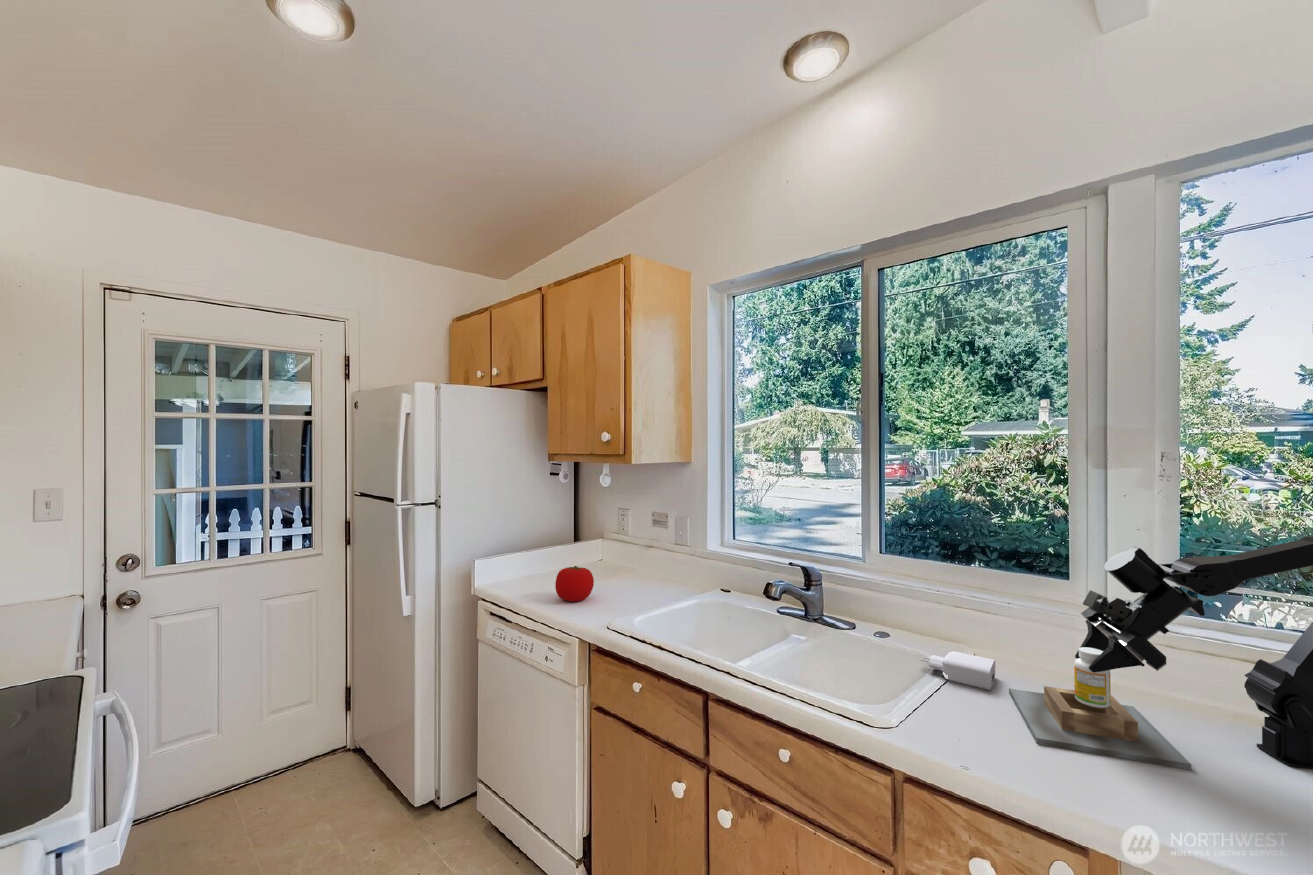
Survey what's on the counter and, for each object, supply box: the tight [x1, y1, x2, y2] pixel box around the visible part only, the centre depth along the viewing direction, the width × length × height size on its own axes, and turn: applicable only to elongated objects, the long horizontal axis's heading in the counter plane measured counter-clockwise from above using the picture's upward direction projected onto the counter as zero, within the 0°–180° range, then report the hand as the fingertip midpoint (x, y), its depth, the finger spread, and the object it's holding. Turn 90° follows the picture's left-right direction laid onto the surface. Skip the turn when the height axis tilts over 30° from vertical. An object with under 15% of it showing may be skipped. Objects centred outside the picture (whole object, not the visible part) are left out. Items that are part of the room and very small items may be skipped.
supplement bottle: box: [1073, 646, 1112, 708], centre depth 105 cm, size 5×5×10 cm
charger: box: [920, 650, 996, 691], centre depth 130 cm, size 5×9×15 cm
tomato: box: [554, 565, 595, 603], centre depth 192 cm, size 13×14×12 cm
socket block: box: [1008, 685, 1192, 771], centre depth 107 cm, size 22×22×4 cm
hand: (1083, 664), depth 105 cm, fingers closed on supplement bottle, 5 cm apart
